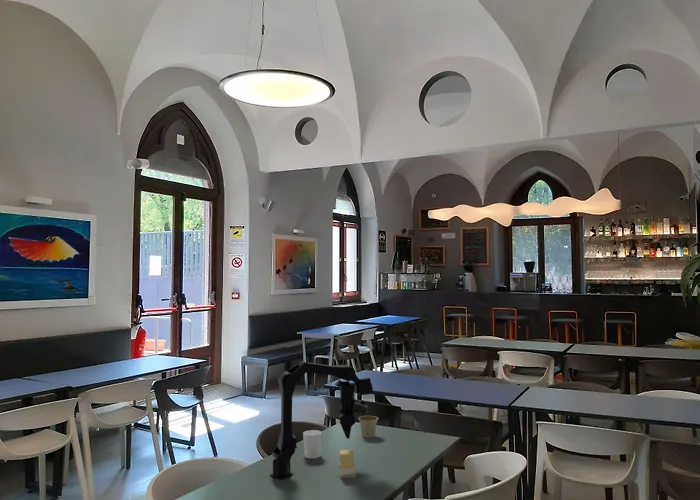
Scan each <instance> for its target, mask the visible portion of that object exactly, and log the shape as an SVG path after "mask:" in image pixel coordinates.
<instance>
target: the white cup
mask: <svg viewBox="0 0 700 500" xmlns="http://www.w3.org/2000/svg"><path fill="white" fill-rule="evenodd" d="M302 437H303V438H302V439H303V451H304V458H306V459H310V460H311V459H313V460H314V459H319V458H320V457H321V454H322V453H321V449H322V430H321V431H320V430H318V429H316V430H315V429H312V430H311V429H310V430H305V431H303V432H302Z"/></svg>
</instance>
